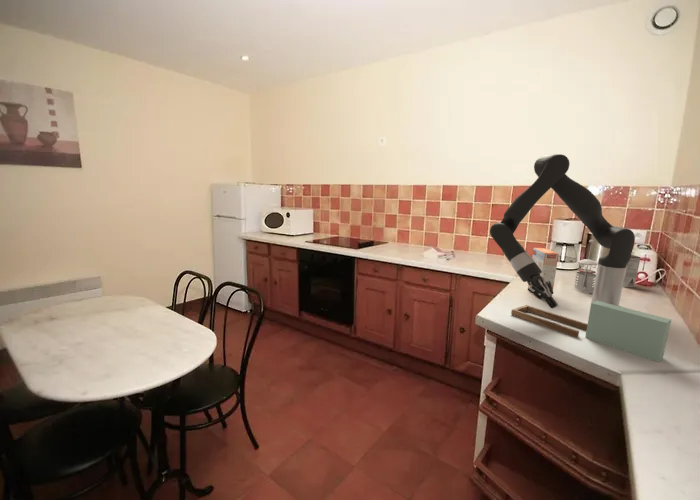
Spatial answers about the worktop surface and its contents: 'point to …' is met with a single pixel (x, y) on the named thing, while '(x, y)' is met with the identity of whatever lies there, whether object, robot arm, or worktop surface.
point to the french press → (585, 276)
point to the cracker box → (546, 263)
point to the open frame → (549, 324)
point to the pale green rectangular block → (628, 330)
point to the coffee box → (631, 271)
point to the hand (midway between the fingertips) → (554, 307)
